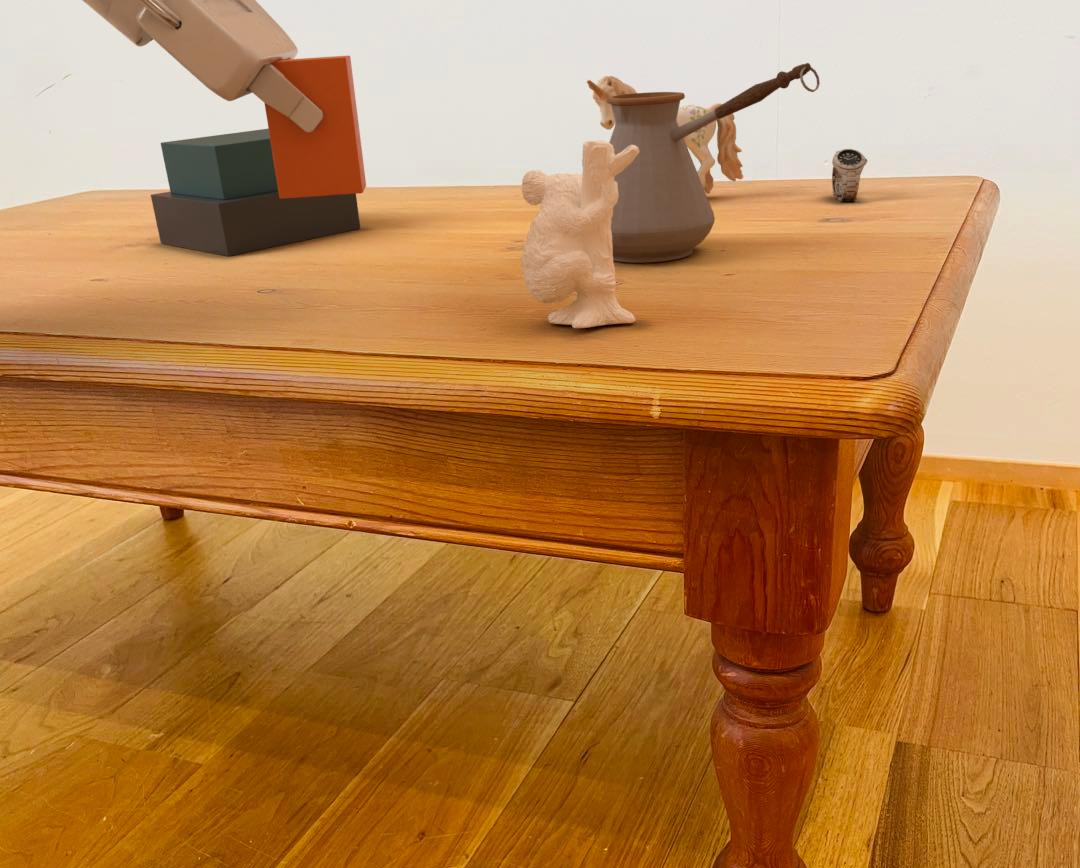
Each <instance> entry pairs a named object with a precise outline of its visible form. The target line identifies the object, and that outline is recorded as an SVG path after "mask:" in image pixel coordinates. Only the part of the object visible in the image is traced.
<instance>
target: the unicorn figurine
mask: <svg viewBox="0 0 1080 868" xmlns="http://www.w3.org/2000/svg"><path fill="white" fill-rule="evenodd" d="M586 84H587V86H588V88H589V89H590V90H592V99H593V100H594V102H595V104H596V105H597V106H598V108H599V111H600V117H601V119H600V121H599V124H600V125H601V127H602V128H603V129H605V130H609V131H610V130H612V129H613V128H614V127H615V118H614V114H613V110H612V106H611V104H609V103H607V101H606V100H607V98H608V97H612V96H617V95H625V94H635V93H638V92H637V90H636V89H635V88H634V87H633V86H631V85H630V84H628V83H625V82H623V81H622V80H621V79H619V78H618V77H615V76H613V75H609V76H605V75H604V76H602V77H601V78H600V79H598V80H597V83H595V82H593V81H592V80H591V79H587V80H586ZM722 104H723V103H721V102H719V103H714V104H712V105H711V106H709V107H707V108H705V107H703V106H698V105H694V104H692V105H691V104H688V105H683V106H679V109H678V114H677V123H678V126H679V127H680V126H682V125H684V124H686V123H688V122H690V121H693V120H695V119H697V118H699V117H701V116H703V115H705V114H707V113H709V112H711V111H713V110H715V109H716V108H717V107H719V106H721V105H722ZM734 120H735V115H734V113H732V114H730V115H728V116H726V117H723V118H721V119H717V120H715V121H713V122H712V123H710V124H708V125H706V126H704V127H702V128H701V129H699V130H697V131H695V132H693V133H692V134H690V135H688V136H686V137H684V141H685V143H686V146H687V148H688V150H689V152H690V153H692V155H693V156H694V157H695V158H696V159H697V161H698V162H699V163H700V166H699V168H698V170H697V173H698V175H699V178H700V180H701V183H702V185H703V188H704V190H705V193H706V195H707V194H710V193H711V191H712V190H713V188H714V177H713V175H712V173H711V169H712V168H713V167H714V166H715V165H716V161H717V163H718V165H719V166H720V170H721V173H722V174H723V175H724V176H725V177H726V178H727V179H728V180H730V181H732V182H736V181H737V180H742V179H744V174H743V171H742V169H741V168H743V166H744V165H743V164H742V162H741V161H740V159H739V157H738V153H742V152H743V150H742V149H741V148H740V146H738V145H737V144H736V139H737V126H736V123H735V121H734ZM716 129H717V132H716ZM715 133H716V142H717V144H716V145H717V151H718V153H717V157H716V159H717V160H716V159H715V158H714V157H713V155H712V153H711V151H710V149H709V146H708V145H709V143H710V141H711V140H712V139H713V138H714V135H715Z"/></svg>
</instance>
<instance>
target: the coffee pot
mask: <svg viewBox="0 0 1080 868" xmlns="http://www.w3.org/2000/svg"><path fill="white" fill-rule="evenodd" d="M810 71H811V72H812V73H813V74H814V77H815V78H816V85H815V88H814V89H812V88H810V87H809V86H808V85H807V84H806V83H805V81H804V76H805V75H807V74H808V73H809V72H810ZM799 79H800V83H801V84H802V87H803V88H804V89H805V90H806V91H807V92H811V93H815V92H816V91H817V90H819V87H820V84H821V83H820V76H819V75H818V72H817V71H816V70H815V69H814V68H813V66H812V65H811V64H810V63H809V62H806V63H804V64H803V63H801V64H798V65H796V66H794V67H792V69H791V70H790V71H787V72H786V71H779V72H778V73H777V75H776V77H774V78H770V79H767V80H765V81H763V82H759V83H756V84H754V85H752V86H751V87H749V88H747V89H746V90H744V91H742V92H741V93H738V94H737V95H735V96H734V97H732V98H731V99H729V100H727V101H725V102H723V103H721V104H722V105H721V106H719V107H717V108H716V109H715V110H713V111H711V112H709V113H707V114H705V115H703V116H701V117H699V118H697V119H695V120H693V121H690V122H688V123H686V124H684V125H682V126H680V127H679V126H678V123H677V114H678V109H679V107H680V104H681V101H682V100H684V99H685V98H686V95H685V93H684V92H680V91H679V92H677V91H653V92H651V91H650V92H649V91H648V92H637V93H635V94H625V95H617V96H612V97H608V98H607V100H606V101H607V103H609V104H611V106H612V110H613V114H614V118H615V124H614V126H613V130H612V133H611V136H610V139H609V141H608V142H609V143H610V144H611V145H613V148H614V154H615V155H617V154H619V153H621V152H622V151H623V150H624V149H626V148H627V147H628V146H630V145H635V146H637V147H638V148H639V154H638V155H637V156H636V157H635V159H634V160H633V162H631V163H630V164H629V165H628V166H627V167H626V168H625V169H624V170H623V171H622V172H620V173H619V174H617V175H616V176H615V177H614V181H616V182H617V183H618V184H617V185H618V194H619V196H618V201H617V203H616V204H615V205H614V207H613V216H612V218H611V232H612V247H613V262H614V261H615V262H621V263H622V262H623V263H659V262H668V261H674V260H679V259H682V258H685V257H686V258H687V257H688V256H690V255H692V254H693V252H694V251H693V249H694V248H695V247H697V246H699V245H700V244H701V243H702V242H703V241H704V240H705V239H706V238H707V236H708V235H709V234H710V233H711V231H712V228H713V226H714V224H715V220H716V218H715V217H716V216H715V213H714V211H713V208H712V205H711V202H710V201H709V199H708V196H707V193H706V192H705V190H704V188H703V185H702V183H701V180H700V178H699V175H698V173H697V172H698V170H697V168H696V165H695V163H694V161H693V158H692V156H691V152H690V150H689V148H688V147H687V146H686V143H685V141H684V137H686V136H688V135H690V134H692V133H693V132H695V131H697V130H699V129H701V128H702V127H704V126H706V125H708V124H710V123H712V122H713V121H715V120H717V119H721V118H723V117H726V116H728V115H730V114H732V113H733V114H735V113H737V112H739V111H742V110H744V109H747V108H749V107H750V106H753V105H756V104H757V103H760V102H762V101H763V100H765V99H766V98H767V97H769V96H770V95H771V94H773V93H774V92H776V91H777V90H779V89H783V90H784V89H787V88H788V87H789V86H790V84H791V82H793V81H794V80H799Z"/></svg>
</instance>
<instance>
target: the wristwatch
mask: <svg viewBox="0 0 1080 868" xmlns="http://www.w3.org/2000/svg"><path fill="white" fill-rule="evenodd" d="M867 163H868V158H866V157H865V155H864V154H863V153H862V152H861V151H859V150H857V149H854V148H843V149H840V150H837V151H835V153H834V155H833V156H832V171H831V188H832V194H833V198H834V200H837V201H838V202H841V203H845V202H846V203H847V202H856V200H857V195H858V193H859V192H858V191H859V188H860V187H859V186H860V182H861V181H860V180H861V175H862V172H863V170H864V167H865V166H866V165H867Z"/></svg>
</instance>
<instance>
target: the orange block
mask: <svg viewBox="0 0 1080 868" xmlns="http://www.w3.org/2000/svg"><path fill="white" fill-rule="evenodd" d="M271 64H272V65H273V66H274V67H275V68H276V69H278V70H279V71H280V72H281V73H282V74H283V75H284V76H285V78H286V79H287V80H288V81H289V82H291V83H292V84H293V85H294V86H295V87H296V88H297V89H298V90H300V91H301V92H302V93H303V94H304V95H305V96H306V95H307V96H308V97H309V98H310V99H311V100H313V101H314V102H315V103H316V104H317V105H318V106H319V107H321V108H322V109H323V111H324V114H325V115H324V118H323V119H322V121H321V122H320V123H319V125H318V126H317V127H316V128H315V130H314V131H312V132H309V133H308V132H305V131H304V130H303V129H302V128H300V127H299V126H298V125H297V124H296V123H294V122H293V121H292V120H291V119H290V118H289V117H287V116H285V115H283V114H282V113H280V112H278V111H277V110H275V109H274V108H272V107H270V106H269V105H267V104H266V103H264V108H265V109H264V110H265V115H266V121H267V122H266V123H267V127H268V128H267V129H269V135H270V141H271V147H272V154H273V160H274V166H275V173H276V179H277V185H278V191H279V198H280V199H286V198H300V197H314V196H328V195H343V194H356V195H357V194H363V193H364V191H365V189H366V187H367V180H366V173H365V165H364V163H365V162H364V156H363V149H362V141H361V139H362V138H361V131H360V125H359V124H360V123H359V116H358V108H357V100H356V90H355V85H354V84H355V83H354V75H353V68H352V59H351V55H337V56H336V55H335V56H321V57H320V56H319V57H318V56H317V57H304V58H294V59H287V60H280V61H276V62H273V63H271Z"/></svg>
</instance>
